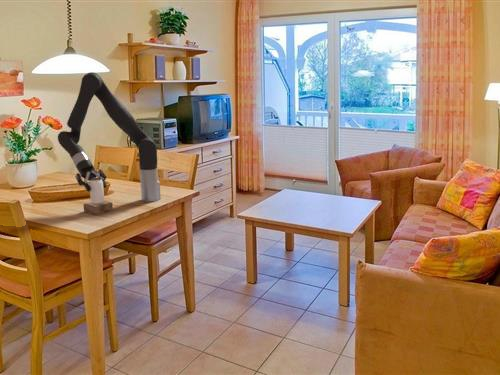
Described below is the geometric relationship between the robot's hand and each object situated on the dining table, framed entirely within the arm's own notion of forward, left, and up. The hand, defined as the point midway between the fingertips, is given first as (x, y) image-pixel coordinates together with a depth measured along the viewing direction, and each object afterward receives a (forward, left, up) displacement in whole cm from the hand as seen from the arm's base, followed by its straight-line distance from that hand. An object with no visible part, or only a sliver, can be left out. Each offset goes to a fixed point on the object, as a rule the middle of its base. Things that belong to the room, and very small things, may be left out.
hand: (97, 188), depth 237 cm
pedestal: (0, -1, -11) cm, 12 cm away
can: (0, -1, -7) cm, 8 cm away
